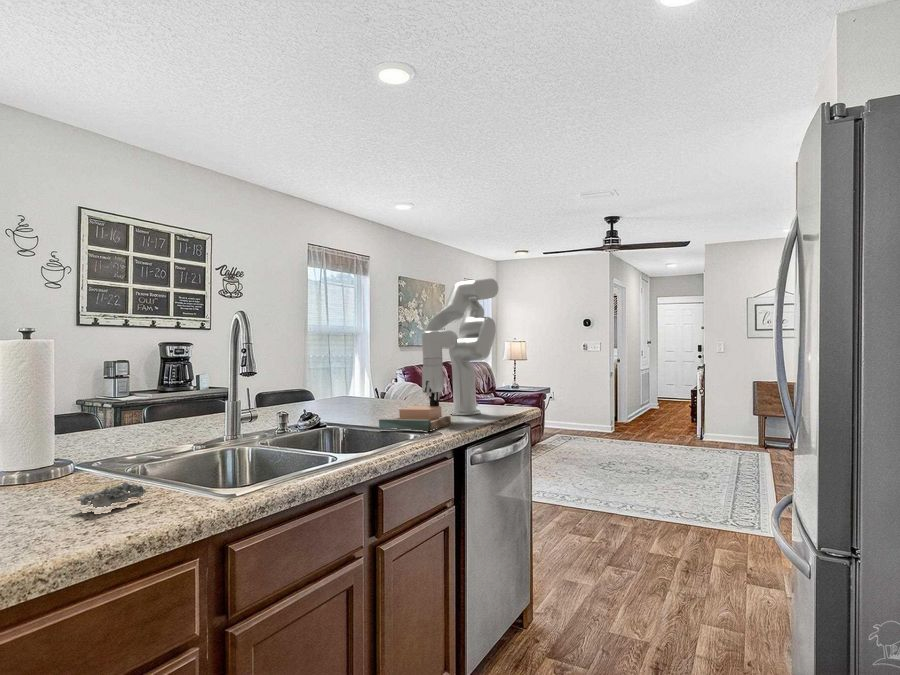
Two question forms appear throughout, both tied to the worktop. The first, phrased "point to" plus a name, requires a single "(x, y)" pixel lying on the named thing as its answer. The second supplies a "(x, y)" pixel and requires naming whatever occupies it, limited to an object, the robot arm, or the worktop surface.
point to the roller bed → (414, 423)
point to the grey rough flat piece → (112, 495)
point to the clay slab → (421, 412)
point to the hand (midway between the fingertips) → (434, 410)
